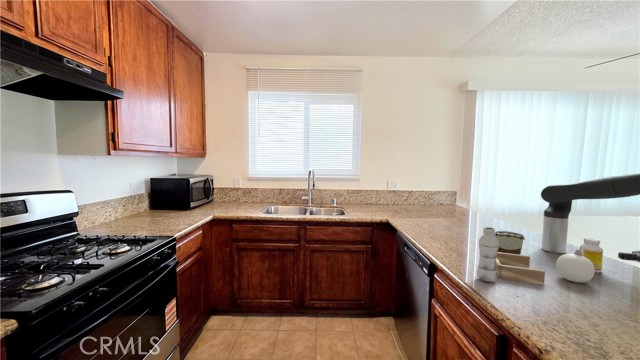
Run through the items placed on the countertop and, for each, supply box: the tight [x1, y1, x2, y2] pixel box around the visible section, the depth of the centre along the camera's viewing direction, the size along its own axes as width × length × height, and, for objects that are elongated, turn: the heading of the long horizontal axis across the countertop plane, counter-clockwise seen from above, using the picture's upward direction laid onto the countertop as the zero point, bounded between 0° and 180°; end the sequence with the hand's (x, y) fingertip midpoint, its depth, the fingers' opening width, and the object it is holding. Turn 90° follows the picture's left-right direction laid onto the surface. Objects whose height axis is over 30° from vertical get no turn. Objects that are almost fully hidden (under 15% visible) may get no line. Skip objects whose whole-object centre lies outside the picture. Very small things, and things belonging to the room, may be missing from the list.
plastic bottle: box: [476, 226, 499, 283], centre depth 98 cm, size 6×7×20 cm
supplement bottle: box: [579, 237, 604, 274], centre depth 108 cm, size 7×7×13 cm
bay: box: [496, 252, 546, 286], centre depth 105 cm, size 17×14×5 cm
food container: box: [494, 230, 526, 255], centre depth 128 cm, size 12×6×10 cm, turn 58°
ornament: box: [555, 249, 596, 284], centre depth 98 cm, size 10×10×12 cm
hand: (619, 255), depth 92 cm, fingers closed
